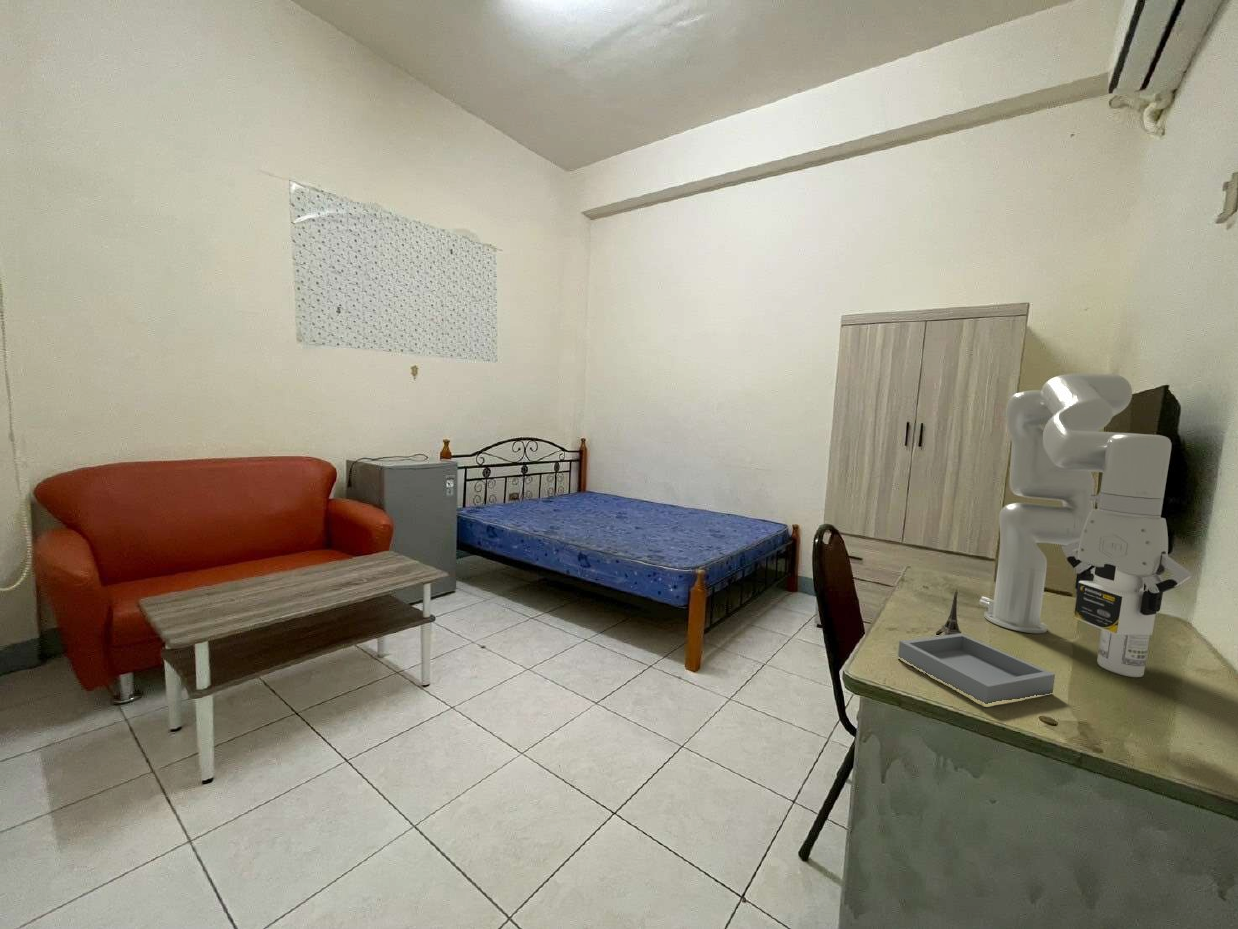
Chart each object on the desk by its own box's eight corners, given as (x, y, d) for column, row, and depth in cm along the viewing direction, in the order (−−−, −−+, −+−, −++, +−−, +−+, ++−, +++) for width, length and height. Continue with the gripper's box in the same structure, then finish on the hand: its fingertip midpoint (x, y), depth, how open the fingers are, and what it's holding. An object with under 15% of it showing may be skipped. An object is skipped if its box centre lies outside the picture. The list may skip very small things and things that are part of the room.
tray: (897, 659, 102) (899, 641, 102) (958, 650, 108) (960, 633, 108) (985, 708, 85) (988, 686, 85) (1052, 694, 91) (1055, 674, 91)
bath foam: (1149, 674, 101) (1163, 581, 99) (1135, 681, 98) (1149, 585, 96) (1105, 659, 107) (1117, 571, 106) (1090, 665, 104) (1103, 574, 103)
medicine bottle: (1072, 618, 88) (1081, 553, 87) (1107, 618, 89) (1116, 554, 88) (1115, 635, 81) (1126, 566, 80) (1153, 635, 82) (1164, 566, 81)
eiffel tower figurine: (964, 660, 104) (971, 600, 103) (914, 642, 113) (920, 586, 111) (989, 645, 113) (996, 589, 112) (941, 628, 121) (947, 576, 120)
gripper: (1055, 497, 90) (1043, 588, 92) (1189, 516, 74) (1171, 627, 75) (1080, 497, 93) (1068, 585, 94) (1216, 515, 76) (1198, 622, 78)
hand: (1114, 603), depth 85 cm, fingers closed on medicine bottle, 8 cm apart
